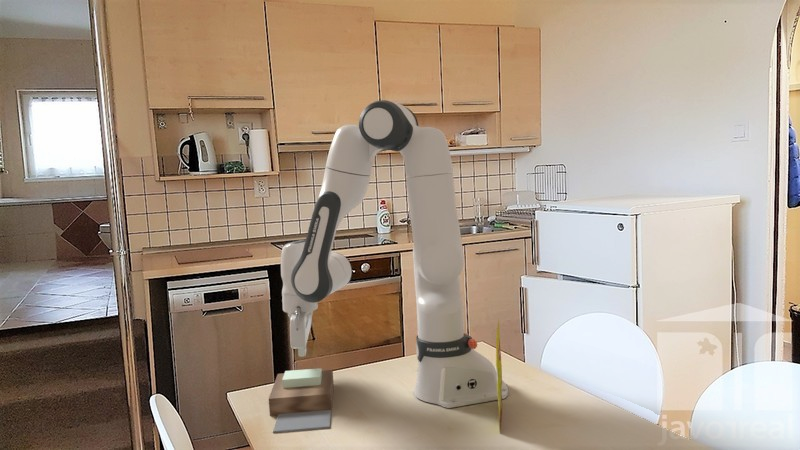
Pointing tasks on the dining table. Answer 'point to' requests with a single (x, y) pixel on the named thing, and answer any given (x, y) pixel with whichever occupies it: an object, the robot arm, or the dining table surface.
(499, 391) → the food package
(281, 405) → the board
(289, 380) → the mint green block
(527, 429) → the dining table surface
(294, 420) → the mat
